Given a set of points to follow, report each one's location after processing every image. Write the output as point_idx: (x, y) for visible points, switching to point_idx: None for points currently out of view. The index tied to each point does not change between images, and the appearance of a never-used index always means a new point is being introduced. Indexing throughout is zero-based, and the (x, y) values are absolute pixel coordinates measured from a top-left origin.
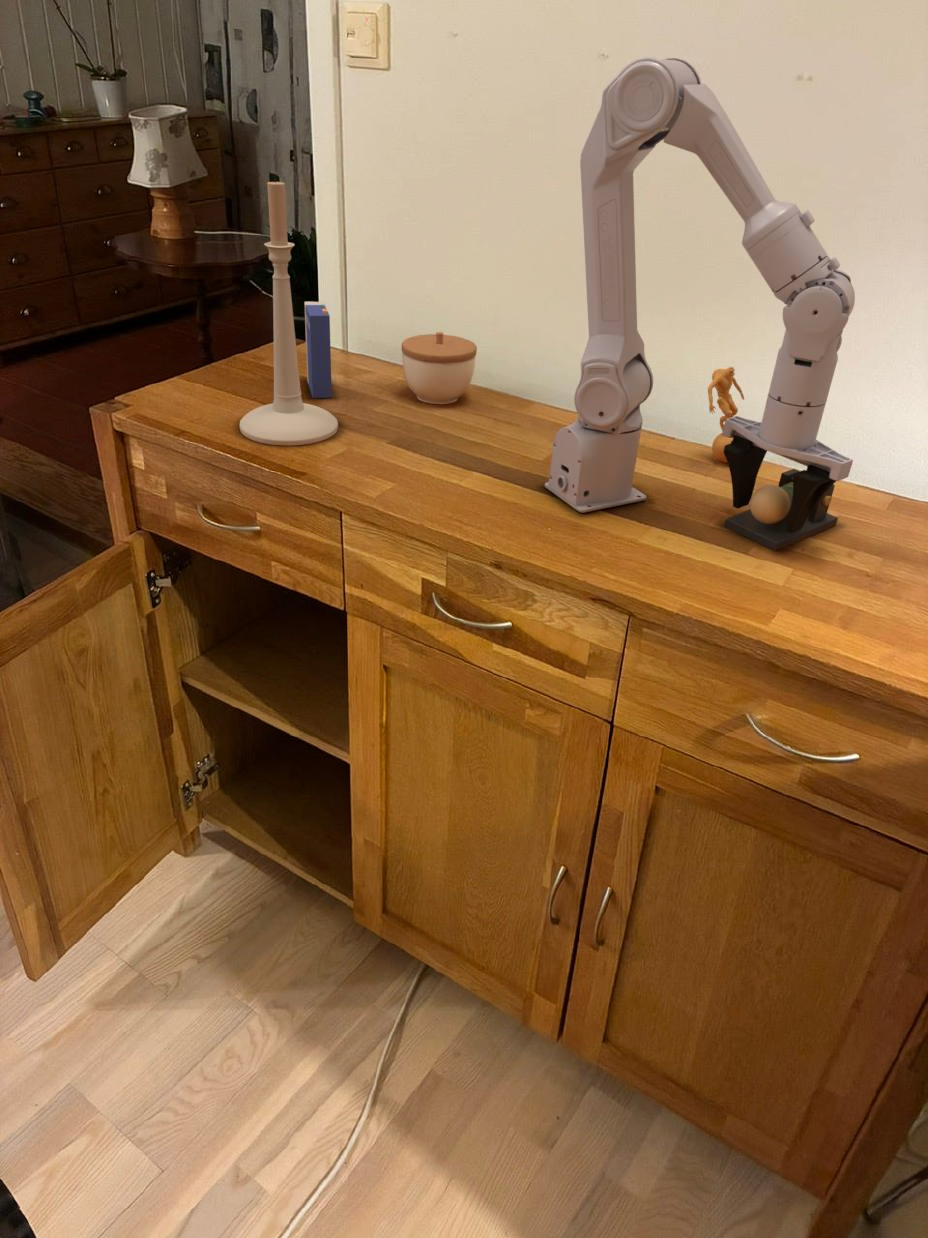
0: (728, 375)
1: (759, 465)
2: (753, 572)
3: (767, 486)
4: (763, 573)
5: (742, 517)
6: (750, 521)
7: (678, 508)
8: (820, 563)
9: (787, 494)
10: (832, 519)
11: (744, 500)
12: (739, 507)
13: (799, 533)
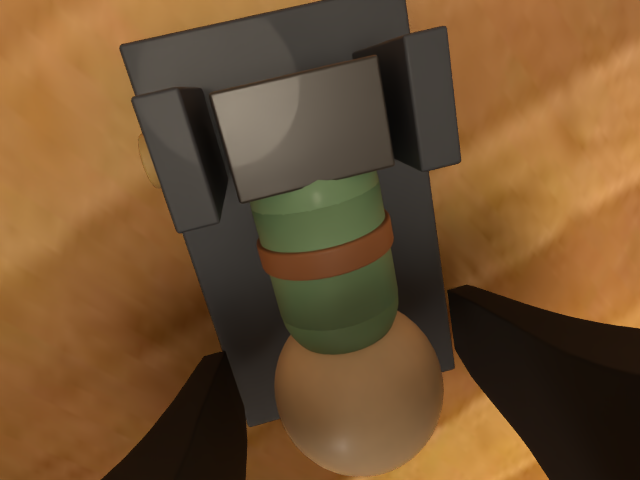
0: None
1: (194, 465)
2: (497, 464)
3: (354, 460)
4: (512, 445)
5: (262, 372)
6: None
7: (80, 472)
8: (555, 271)
9: (417, 373)
10: (406, 28)
11: (233, 395)
12: (240, 399)
13: (439, 258)
